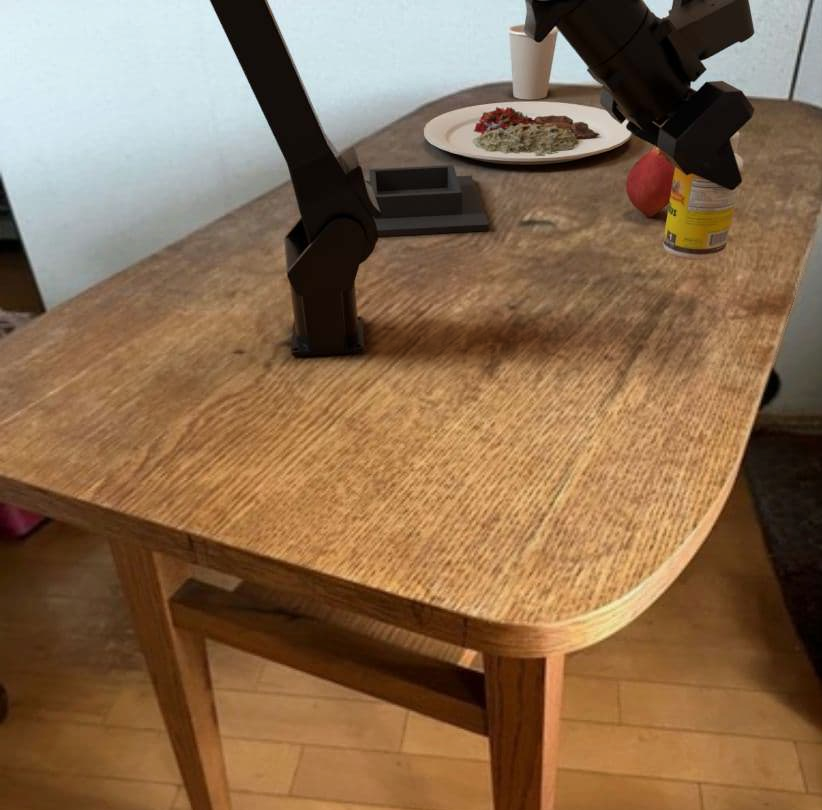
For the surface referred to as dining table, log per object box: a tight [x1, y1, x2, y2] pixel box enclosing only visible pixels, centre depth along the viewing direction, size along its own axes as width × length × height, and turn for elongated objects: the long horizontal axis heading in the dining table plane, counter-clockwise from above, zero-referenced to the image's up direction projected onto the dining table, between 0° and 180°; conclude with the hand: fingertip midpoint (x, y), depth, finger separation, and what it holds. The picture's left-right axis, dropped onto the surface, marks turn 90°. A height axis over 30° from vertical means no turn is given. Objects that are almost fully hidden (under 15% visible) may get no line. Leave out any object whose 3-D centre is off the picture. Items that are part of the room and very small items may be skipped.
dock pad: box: [365, 164, 490, 238], centre depth 104 cm, size 18×16×3 cm
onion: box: [625, 146, 675, 218], centre depth 98 cm, size 6×6×8 cm
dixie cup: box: [507, 23, 560, 100], centre depth 143 cm, size 8×8×10 cm
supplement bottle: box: [662, 130, 744, 261], centre depth 75 cm, size 6×6×10 cm
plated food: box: [423, 101, 633, 166], centre depth 124 cm, size 30×30×3 cm
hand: (722, 175), depth 74 cm, fingers closed on supplement bottle, 5 cm apart
